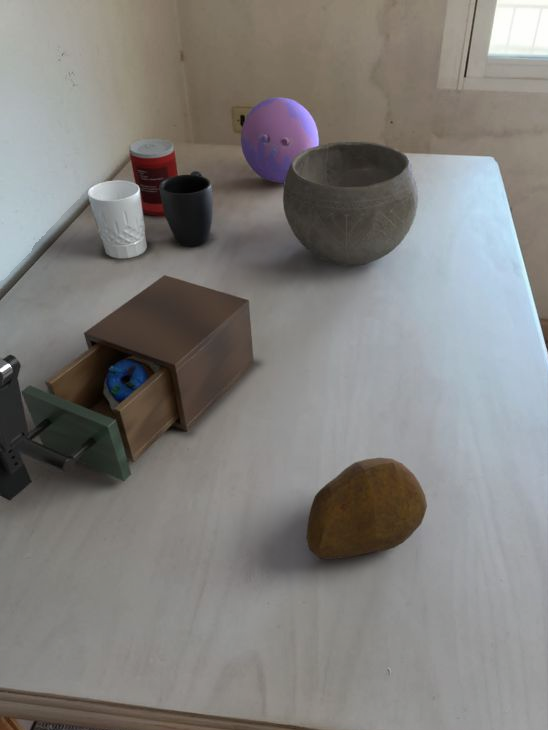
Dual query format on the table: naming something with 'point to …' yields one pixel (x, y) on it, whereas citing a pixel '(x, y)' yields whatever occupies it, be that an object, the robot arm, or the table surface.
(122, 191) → the white cup
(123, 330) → the cabinet
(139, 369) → the dessert
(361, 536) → the potato
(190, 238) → the mug
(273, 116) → the decorative ball
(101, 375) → the drawer
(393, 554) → the table surface
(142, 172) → the canned food
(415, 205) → the bowl
